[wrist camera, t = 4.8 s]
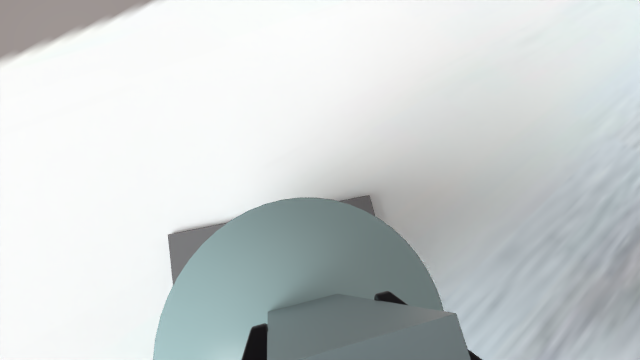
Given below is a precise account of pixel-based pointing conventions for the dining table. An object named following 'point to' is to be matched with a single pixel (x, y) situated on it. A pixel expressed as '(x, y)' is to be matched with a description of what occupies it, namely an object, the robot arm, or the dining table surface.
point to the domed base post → (307, 291)
